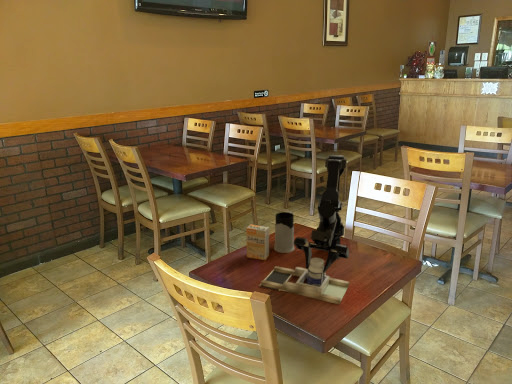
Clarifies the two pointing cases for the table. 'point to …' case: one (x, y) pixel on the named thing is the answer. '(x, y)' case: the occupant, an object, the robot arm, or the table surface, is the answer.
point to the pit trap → (277, 278)
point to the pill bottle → (316, 272)
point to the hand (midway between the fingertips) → (315, 270)
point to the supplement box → (257, 242)
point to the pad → (335, 290)
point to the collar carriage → (318, 289)
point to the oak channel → (301, 288)
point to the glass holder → (284, 232)
